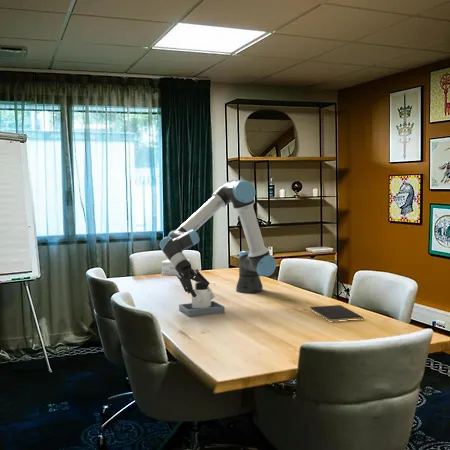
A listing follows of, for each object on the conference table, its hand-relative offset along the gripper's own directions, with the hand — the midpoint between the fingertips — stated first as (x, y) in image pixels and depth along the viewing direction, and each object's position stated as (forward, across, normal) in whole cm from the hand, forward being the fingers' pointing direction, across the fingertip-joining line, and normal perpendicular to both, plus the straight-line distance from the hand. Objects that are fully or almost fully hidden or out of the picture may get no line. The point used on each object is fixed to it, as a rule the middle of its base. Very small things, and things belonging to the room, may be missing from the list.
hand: (206, 299), depth 247 cm
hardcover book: (+42, -29, +32) cm, 60 cm away
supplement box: (-58, -75, -67) cm, 116 cm away
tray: (+2, 0, -6) cm, 7 cm away
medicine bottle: (+1, 0, -5) cm, 5 cm away
